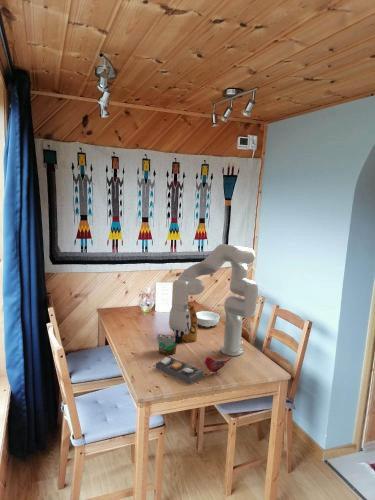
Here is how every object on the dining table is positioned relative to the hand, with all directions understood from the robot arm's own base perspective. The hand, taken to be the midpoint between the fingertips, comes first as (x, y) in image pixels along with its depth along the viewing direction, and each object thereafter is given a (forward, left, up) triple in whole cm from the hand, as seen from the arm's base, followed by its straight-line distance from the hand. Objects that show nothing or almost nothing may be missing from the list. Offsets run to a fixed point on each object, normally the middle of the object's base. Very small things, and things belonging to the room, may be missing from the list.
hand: (178, 343), depth 178 cm
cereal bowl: (-66, -30, -16) cm, 74 cm away
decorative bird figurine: (-14, +14, -16) cm, 26 cm away
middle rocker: (0, 0, -12) cm, 12 cm away
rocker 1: (0, -7, -12) cm, 14 cm away
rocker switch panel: (-2, 0, -16) cm, 16 cm away
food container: (-13, -19, -16) cm, 28 cm away
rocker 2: (0, +7, -12) cm, 14 cm away
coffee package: (-38, -24, -16) cm, 48 cm away
